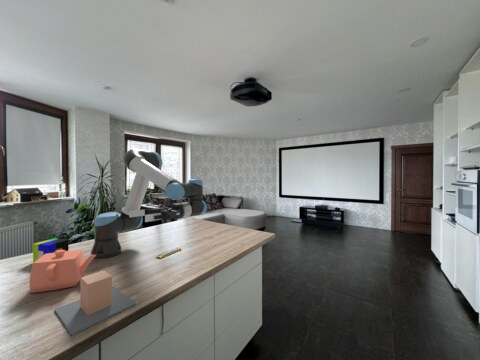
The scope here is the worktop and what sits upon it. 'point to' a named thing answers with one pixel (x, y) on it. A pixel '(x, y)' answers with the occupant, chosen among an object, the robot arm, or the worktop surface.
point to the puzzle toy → (49, 247)
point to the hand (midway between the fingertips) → (137, 216)
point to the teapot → (58, 270)
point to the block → (96, 292)
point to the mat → (80, 320)
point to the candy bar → (169, 253)
